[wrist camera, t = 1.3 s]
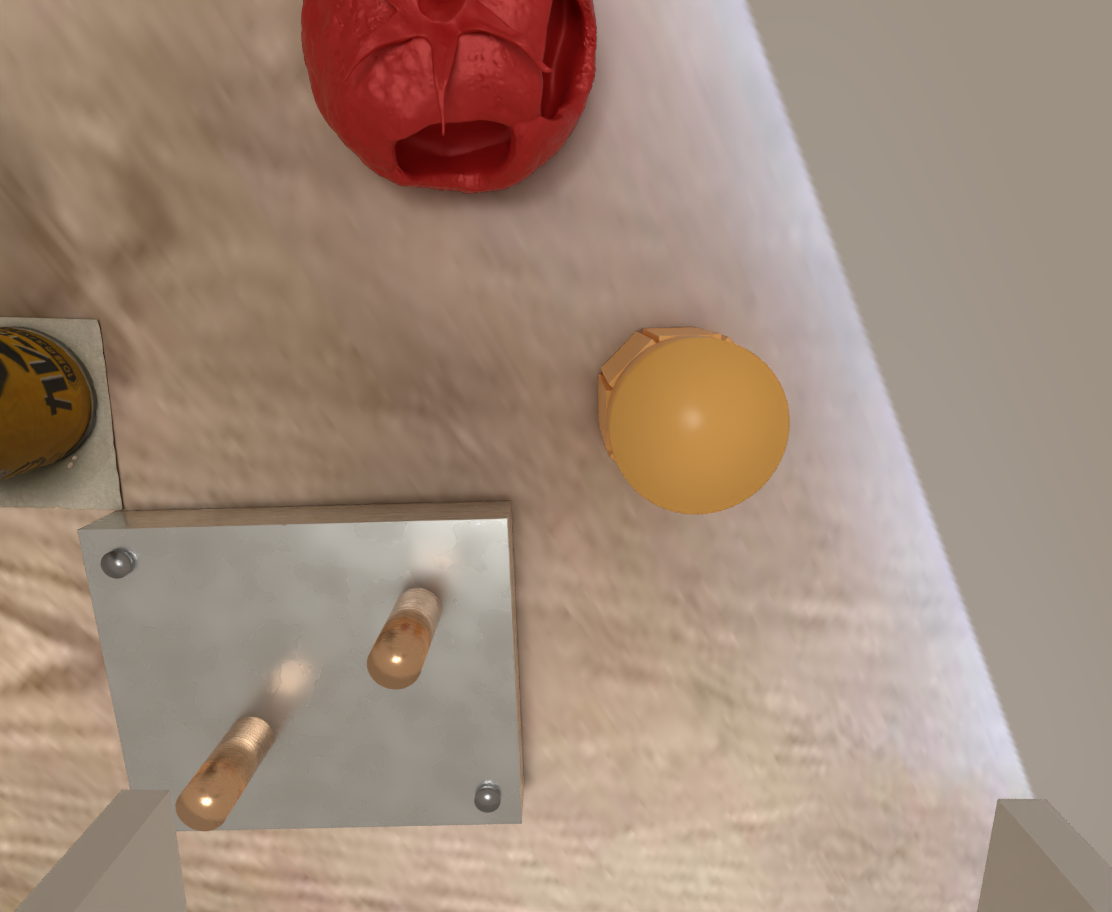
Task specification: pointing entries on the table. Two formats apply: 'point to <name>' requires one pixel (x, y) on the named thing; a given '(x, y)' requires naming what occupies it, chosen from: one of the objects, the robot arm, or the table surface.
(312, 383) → the table surface
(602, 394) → the wire nut
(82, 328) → the condiment
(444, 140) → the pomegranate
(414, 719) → the plate
